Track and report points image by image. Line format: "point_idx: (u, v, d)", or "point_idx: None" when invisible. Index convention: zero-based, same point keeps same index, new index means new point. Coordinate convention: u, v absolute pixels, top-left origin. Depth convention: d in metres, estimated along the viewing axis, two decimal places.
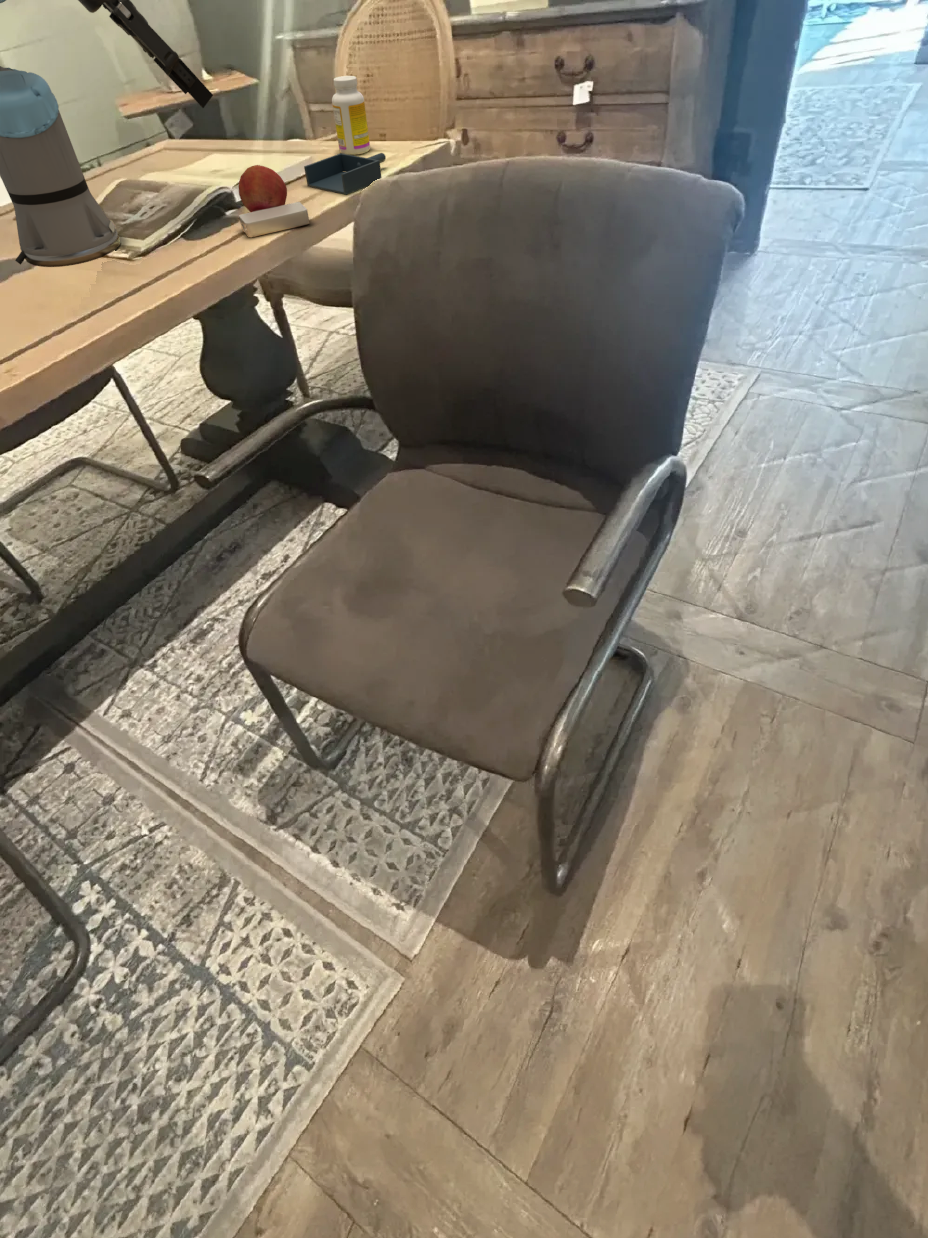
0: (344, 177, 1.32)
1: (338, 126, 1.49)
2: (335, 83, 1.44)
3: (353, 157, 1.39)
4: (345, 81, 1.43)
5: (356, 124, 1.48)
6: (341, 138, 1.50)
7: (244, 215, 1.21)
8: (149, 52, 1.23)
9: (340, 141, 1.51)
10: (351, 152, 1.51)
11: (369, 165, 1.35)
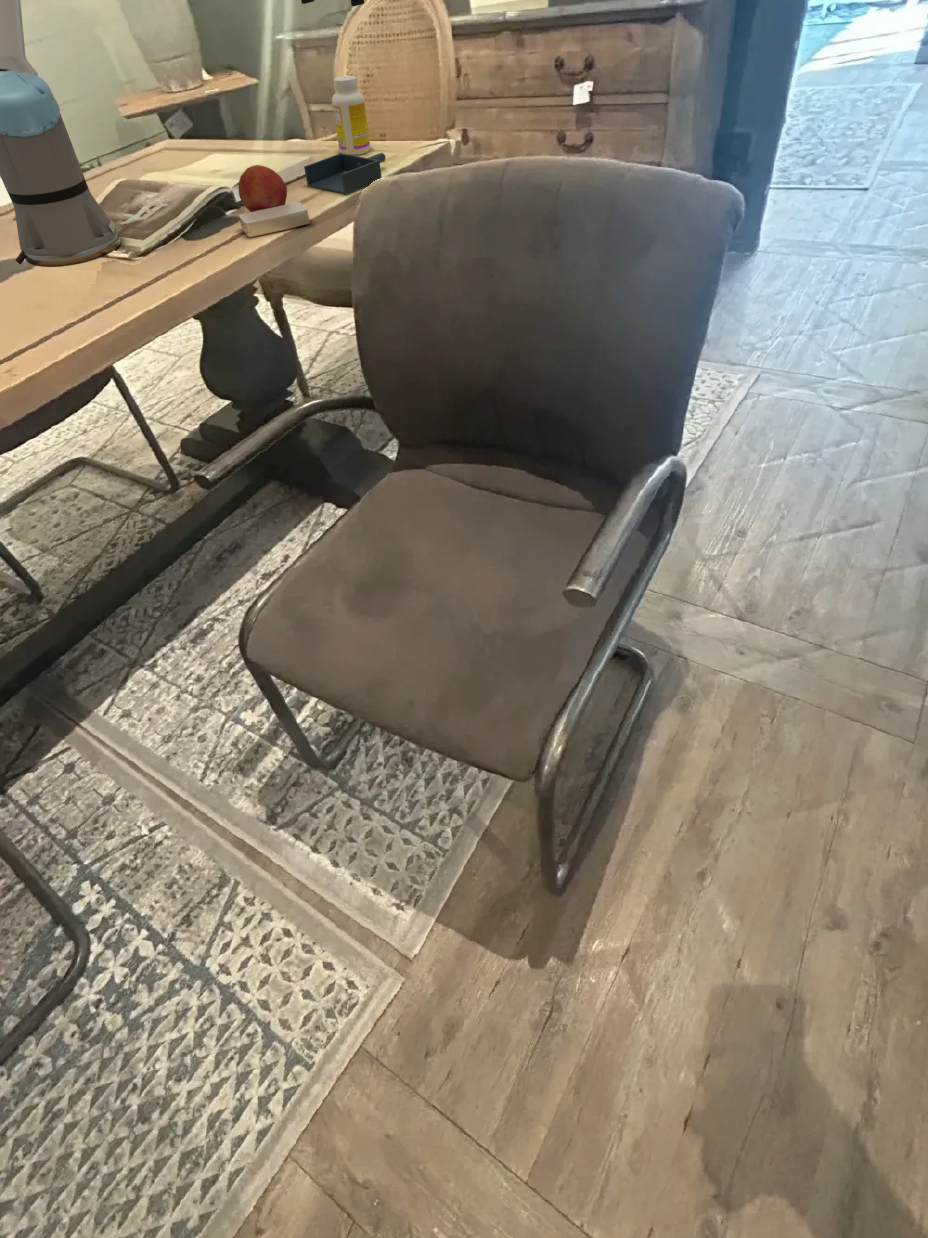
0: (344, 177, 1.32)
1: (338, 126, 1.49)
2: (335, 83, 1.44)
3: (353, 157, 1.39)
4: (345, 81, 1.43)
5: (356, 124, 1.48)
6: (341, 138, 1.50)
7: (244, 215, 1.21)
8: None
9: (340, 141, 1.51)
10: (351, 152, 1.51)
11: (369, 165, 1.35)
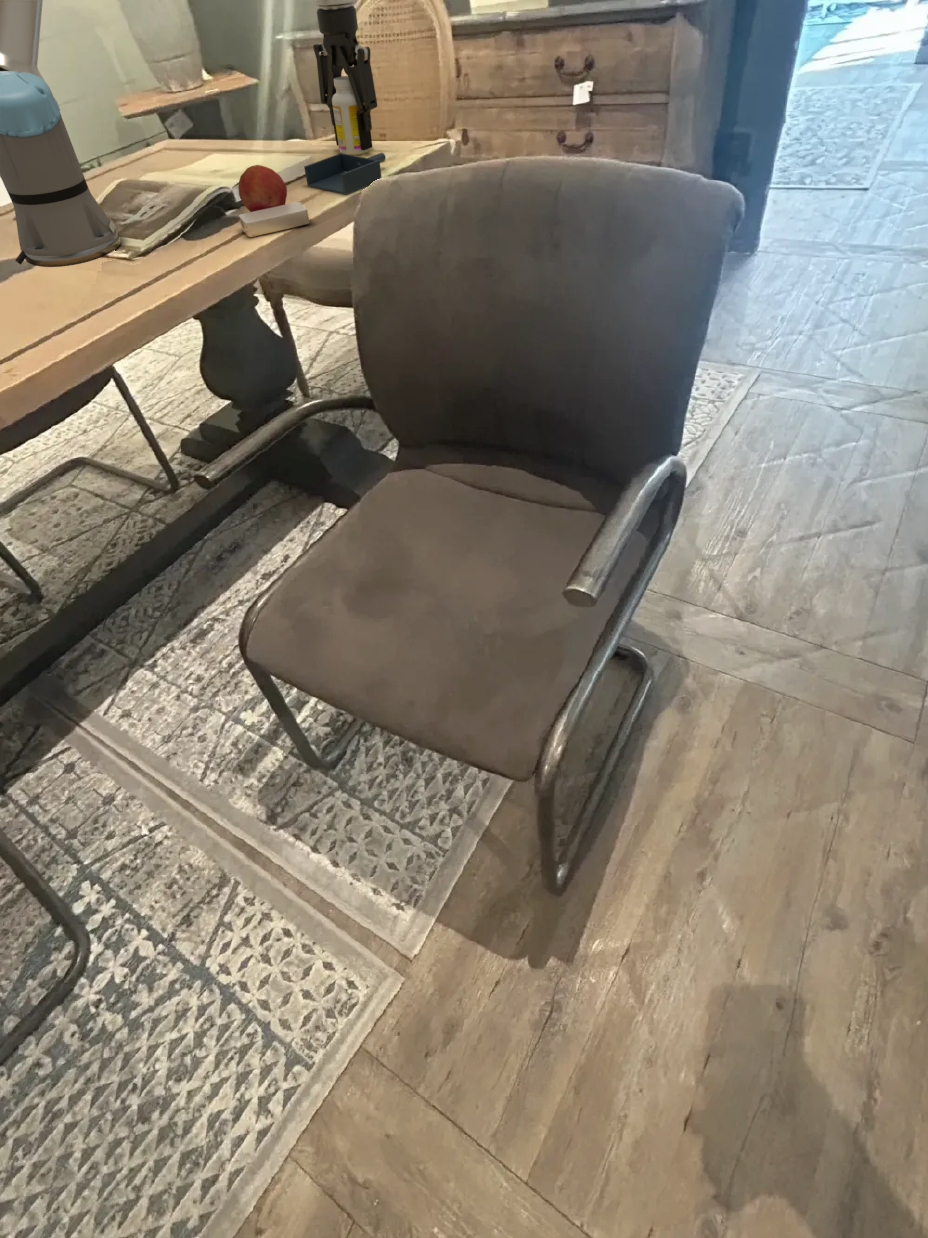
0: (344, 177, 1.32)
1: (338, 126, 1.49)
2: (335, 83, 1.44)
3: (353, 157, 1.39)
4: (345, 81, 1.43)
5: (356, 124, 1.48)
6: (341, 138, 1.50)
7: (244, 215, 1.21)
8: None
9: (340, 141, 1.51)
10: (351, 152, 1.51)
11: (369, 165, 1.35)
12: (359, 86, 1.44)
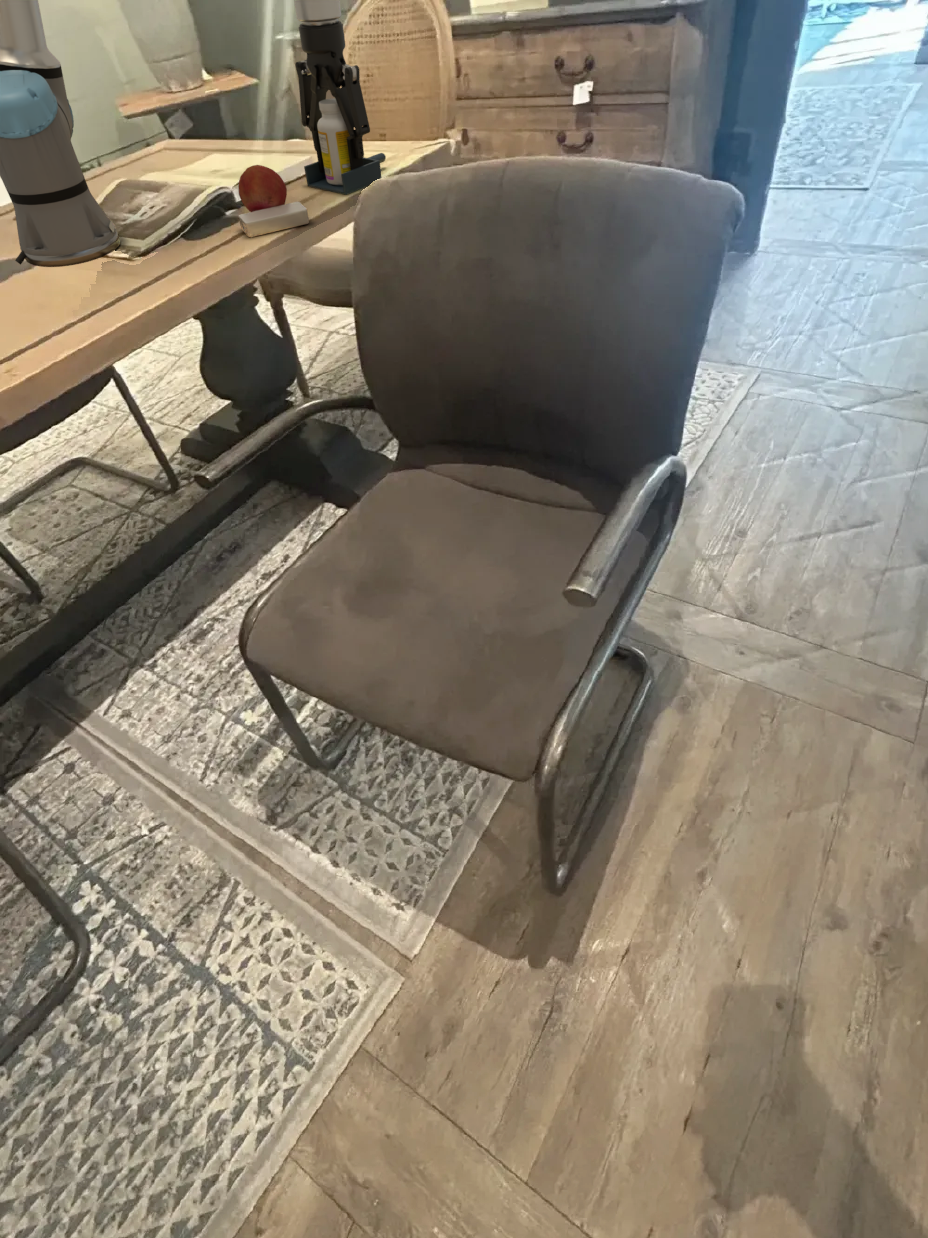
0: (344, 177, 1.32)
1: (324, 154, 1.33)
2: (321, 107, 1.29)
3: None
4: (332, 105, 1.28)
5: (344, 151, 1.32)
6: (327, 168, 1.35)
7: (244, 214, 1.21)
8: (315, 123, 1.33)
9: (326, 170, 1.35)
10: (339, 182, 1.36)
11: (369, 165, 1.35)
12: (348, 109, 1.28)
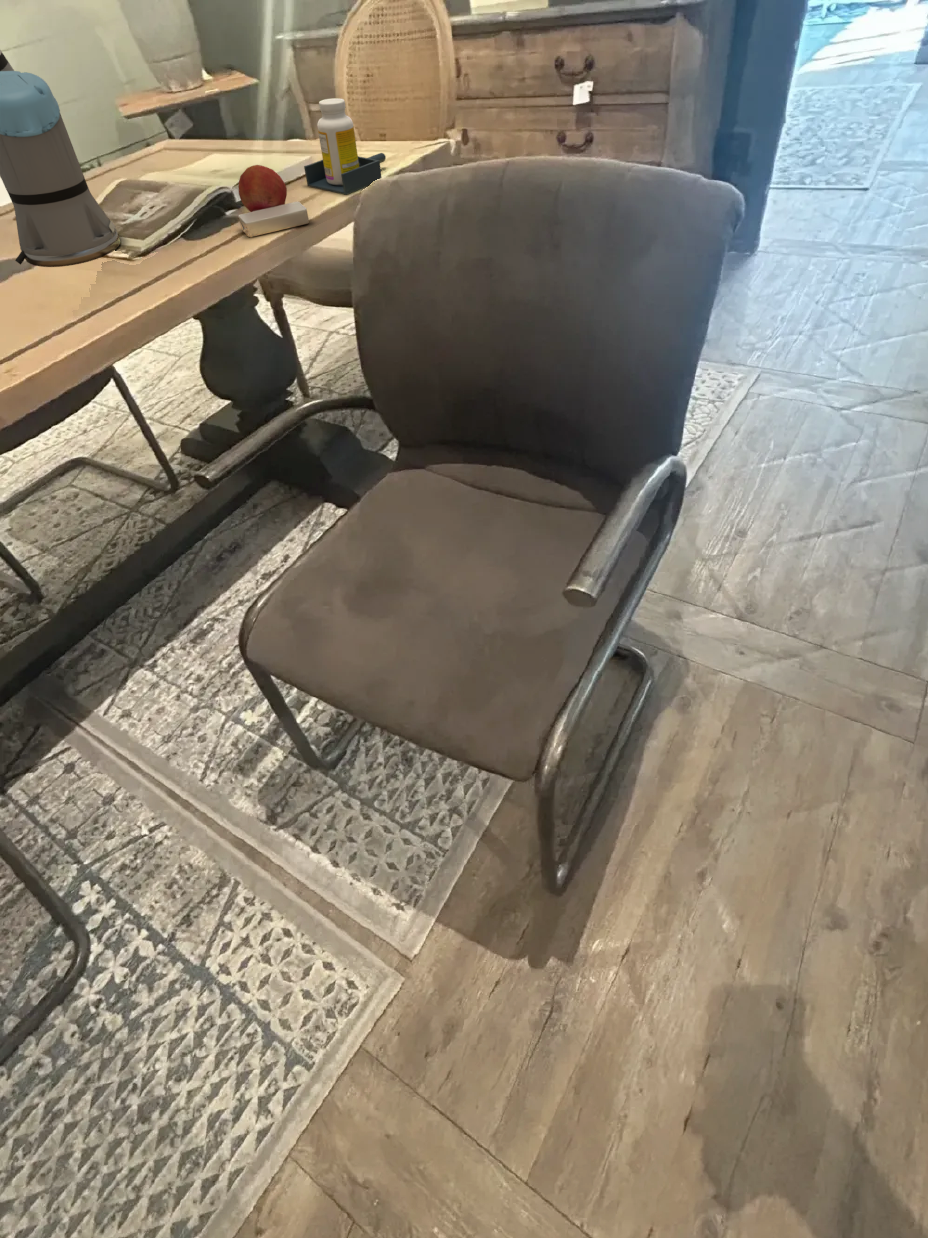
0: (344, 177, 1.32)
1: (324, 154, 1.33)
2: (321, 107, 1.29)
3: None
4: (332, 105, 1.28)
5: (344, 151, 1.32)
6: (327, 168, 1.35)
7: (244, 214, 1.21)
8: None
9: (326, 170, 1.35)
10: (339, 182, 1.36)
11: (369, 165, 1.35)
12: None
